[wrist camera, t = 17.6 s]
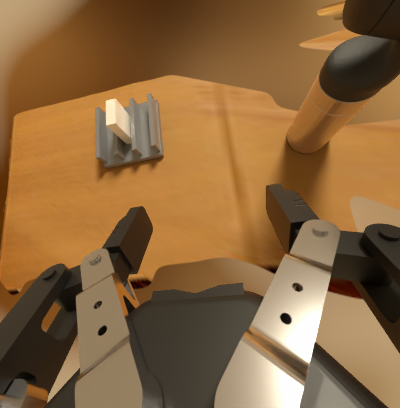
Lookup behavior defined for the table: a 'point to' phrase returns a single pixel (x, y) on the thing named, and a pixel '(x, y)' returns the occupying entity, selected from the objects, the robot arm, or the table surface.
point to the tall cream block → (118, 120)
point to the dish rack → (140, 135)
